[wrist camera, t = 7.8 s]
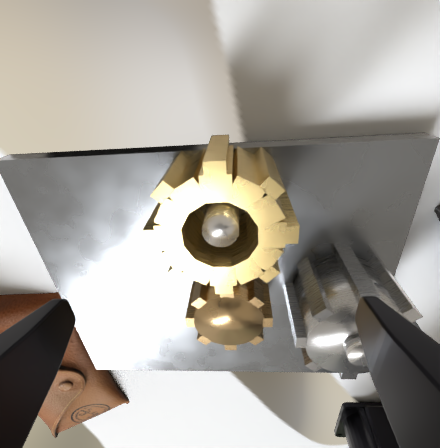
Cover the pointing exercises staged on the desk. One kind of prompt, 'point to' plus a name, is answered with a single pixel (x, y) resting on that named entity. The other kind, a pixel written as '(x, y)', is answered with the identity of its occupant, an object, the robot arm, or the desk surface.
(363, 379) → the desk surface
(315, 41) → the desk surface
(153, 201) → the carrier
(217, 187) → the brass gear
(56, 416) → the sunglasses case
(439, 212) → the disk drive
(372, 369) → the robot arm
